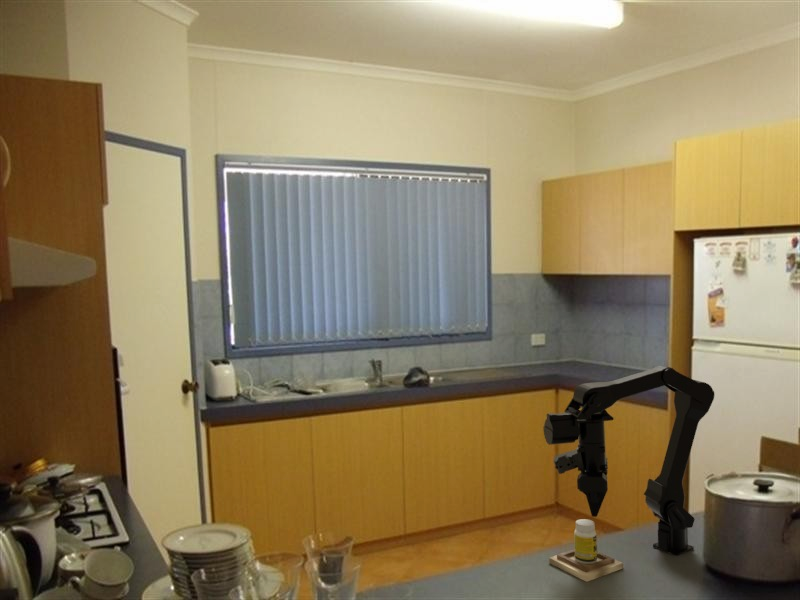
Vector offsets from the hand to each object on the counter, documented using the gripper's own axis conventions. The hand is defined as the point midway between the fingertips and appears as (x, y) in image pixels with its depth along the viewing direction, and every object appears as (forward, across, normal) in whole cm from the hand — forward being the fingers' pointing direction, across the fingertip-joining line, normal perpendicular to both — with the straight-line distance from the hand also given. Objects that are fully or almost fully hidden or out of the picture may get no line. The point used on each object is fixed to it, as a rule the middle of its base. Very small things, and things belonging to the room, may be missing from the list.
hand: (594, 509), depth 148 cm
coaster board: (+11, +6, -2) cm, 12 cm away
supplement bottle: (+10, +6, -2) cm, 11 cm away
